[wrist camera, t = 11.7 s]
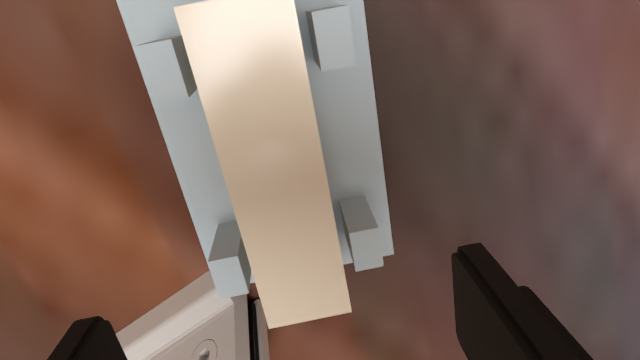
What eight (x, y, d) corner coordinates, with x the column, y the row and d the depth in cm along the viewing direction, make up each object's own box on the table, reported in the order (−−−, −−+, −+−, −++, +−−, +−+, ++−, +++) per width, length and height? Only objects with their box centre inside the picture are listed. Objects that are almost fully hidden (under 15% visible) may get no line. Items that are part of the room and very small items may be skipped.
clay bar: (338, 254, 27) (351, 311, 22) (270, 268, 27) (269, 328, 22) (287, -11, 20) (291, -16, 15) (199, 6, 20) (173, 7, 15)
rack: (388, 242, 29) (411, 292, 24) (219, 276, 28) (207, 334, 23) (352, -46, 21) (374, -62, 16) (125, -3, 21) (77, -6, 16)
